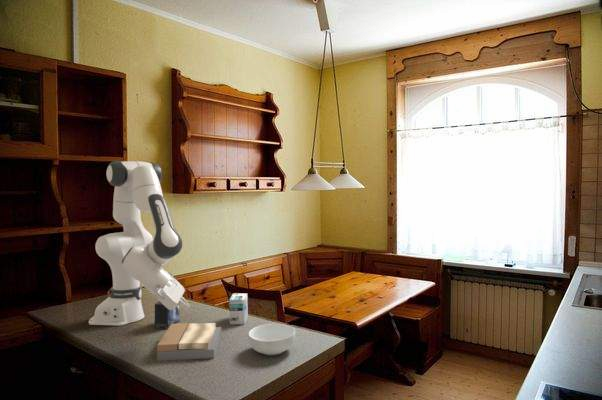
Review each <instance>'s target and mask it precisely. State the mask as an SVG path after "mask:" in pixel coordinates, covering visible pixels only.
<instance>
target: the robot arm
mask: <svg viewBox="0 0 602 400" xmlns="http://www.w3.org/2000/svg"><path fill="white" fill-rule="evenodd" d="M162 178H163V171H162V168H161V166H160V165H159V164H157V163H155V162H152V161H151V162H147V161H140V160H134V161H133V160H132V161H131V160H128V161H124V160H123V161H120V160H116V161H115V160H114V161H112V162H109V164H108V166H107V168H106V180H107V182H108V183H109V184H110V185H111V186H113V187H114V190H113V191H114V192H113V201H112V202H113V203H112V208H113V209H112V217H113V219H114V221H116V222H117V223H119V224H120V225H122V229H123V231H120V232H113V233H112V232H111V233H107V234H104V235H101V236H99V237H98V238H97V240H96V242H95V244H94V245H95V249H94V250H95V252H96V254H97V255H98V257H100V258H101V259H103V260H104V261H105V262H106V263H107V264H108V266H109V267H110V271H111V275H112V286H111V288H110V289H109V290H108V291H107V295H108V297H107V298H106V299H104V300H103V301H102V302H101V303H100V304H99V305H97V307H96V308H95V311H94V315H93V316H92V317H90V318H89V320H88V325H91V326H119V327H121V326H124V325H127V324H130V323H134V322H138V321H140V320H142V319H144V318H145V317H146V316H145V312H144V309H143V305H142V293H143V292H142V286H143V287H144V288H145V289H146V290H147V291H148V292H150V294H152V295H153V296H156V299H157V300H158V302H159V301H160V302H161V303H162V304H163V305H164V306H165V307H166V308H167V309H169V310H172V309H173V308H174V307H175V306H176V305H177V306H179V307H180V309H183V310H184V311H186V312H187V311H188V310H189V308H190V306H191V304H189V303H188V302H187V300H186V299H185V298H184V297H183V295H184V293H185V291H186V289H185V288H184V286H183V285H182V284H181V283H180V282H179V281H178V280H177V279H176V278H175V277H174V274H173V273H172V272H170V271H166V270H165V269H164V268H163V266H165V265H167V263H169V262H170V261H171V260H172V259H173V258H174V257H175V256H177V255H178V254H179V253H180V252H181V250H182V248H183V239H182V237H181V235H180V234H179V233H178V231H177V230H176V228H175V226H174V223H173V220H172V217H171V213H170V210H169V208H168V205H167V201H166V200H165V198H164V194H163V189H162V186H161V183H162ZM141 212H144V213H150V215H151V218H152V222H153V225H154V229H155V233H154V237H153V235H152V234H151V233H150V232H149V231H148V230H147V229H146V228H145V226H144V224H143V222H142V219H141V218H142V217H141V216H142V215H141ZM141 285H142V286H141Z"/></svg>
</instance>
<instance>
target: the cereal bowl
mask: <svg viewBox="0 0 602 400" xmlns="http://www.w3.org/2000/svg"><path fill="white" fill-rule="evenodd" d="M296 337H297V335H296V329H295V328H294V327H293V326H291V325H289V324H288V325H287V324H283V323H266V324H261V325H258V326H255V327H253V328H252V329H250V330H249V332H248V342H249V345H250V347H251V348H252V349H253V350H254V351H256V352H258V353H261V354H263V355H266V356H277V355H280V354H283V353H284V352H286V351H288V350H290V348H292V346H293V345H294V344H295V341H296Z"/></svg>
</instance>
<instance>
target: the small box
mask: <svg viewBox="0 0 602 400" xmlns="http://www.w3.org/2000/svg"><path fill="white" fill-rule="evenodd" d="M180 321H181V307H179V306H177V305H176V306H175V307H174V308H173V309H172V310H169V309H167V308H166V307H165V306H164V305H163V304H162V303H161V302H160V301H159V300H158V302H155V303H154V329H160V330H161V329H162V330H168V328H169V327H170V325H171V324H178V323H179V322H180Z"/></svg>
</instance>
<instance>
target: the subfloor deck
mask: <svg viewBox="0 0 602 400" xmlns="http://www.w3.org/2000/svg"><path fill="white" fill-rule="evenodd" d="M189 324H190V323H189V322H187V323H186V322H182V323H179V322H178V323H176V324H171V325H170V327H169V328H168V329H166V332H165V333H164V334H163V336H162V337H161V339H160V340H159V341H158V344H157V345H156V347H157V350H156V357H157V358H156V361H157V362H158V361H159V362H160V361H177V360H178V361H180V360H199V359H201V360H203V359H215V356H216V353H217V349H218V347H219V343H220V339H221V337H222V326H216V328H215V331H214V334H213V337H212V339H211V342H210V345H209V348H208V349H179V342H180V340H181V338H182V337H183V335H184V333H185V331H186V329H187V327H188V326H189Z"/></svg>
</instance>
